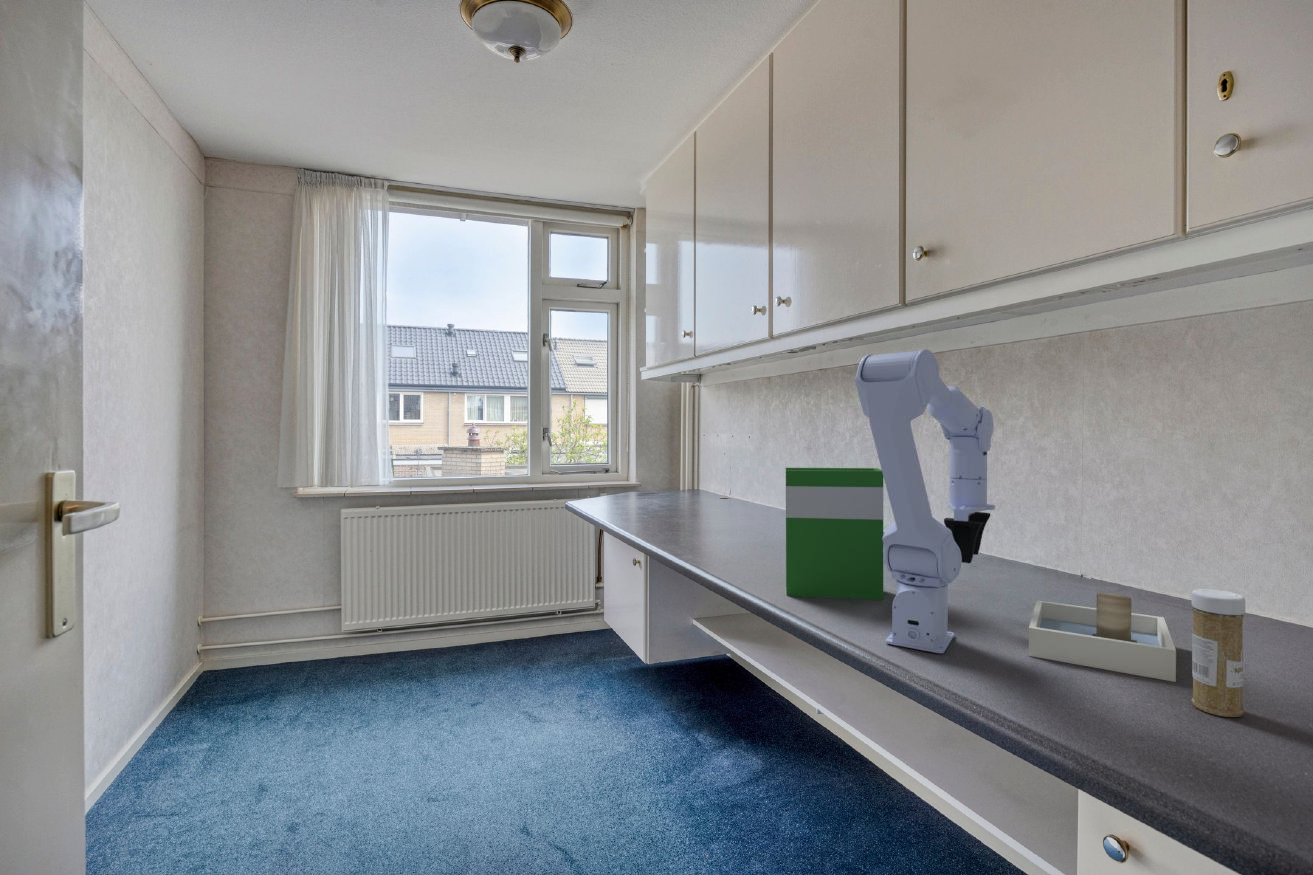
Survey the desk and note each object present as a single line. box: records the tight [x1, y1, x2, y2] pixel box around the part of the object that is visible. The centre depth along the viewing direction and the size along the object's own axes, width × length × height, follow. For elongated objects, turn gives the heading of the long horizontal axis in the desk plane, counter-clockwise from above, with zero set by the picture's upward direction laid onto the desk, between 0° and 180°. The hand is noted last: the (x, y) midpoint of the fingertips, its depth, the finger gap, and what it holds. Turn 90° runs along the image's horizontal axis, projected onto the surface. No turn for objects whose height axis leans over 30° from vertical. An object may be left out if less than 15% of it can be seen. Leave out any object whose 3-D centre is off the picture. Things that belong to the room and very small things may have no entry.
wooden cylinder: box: [1096, 592, 1133, 642], centre depth 89 cm, size 4×4×8 cm
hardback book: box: [785, 467, 884, 601], centre depth 121 cm, size 18×7×24 cm, turn 79°
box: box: [1028, 600, 1177, 683], centre depth 90 cm, size 16×16×4 cm
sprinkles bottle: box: [1191, 588, 1246, 718], centre depth 71 cm, size 5×5×13 cm
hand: (967, 557), depth 106 cm, fingers open, 7 cm apart
